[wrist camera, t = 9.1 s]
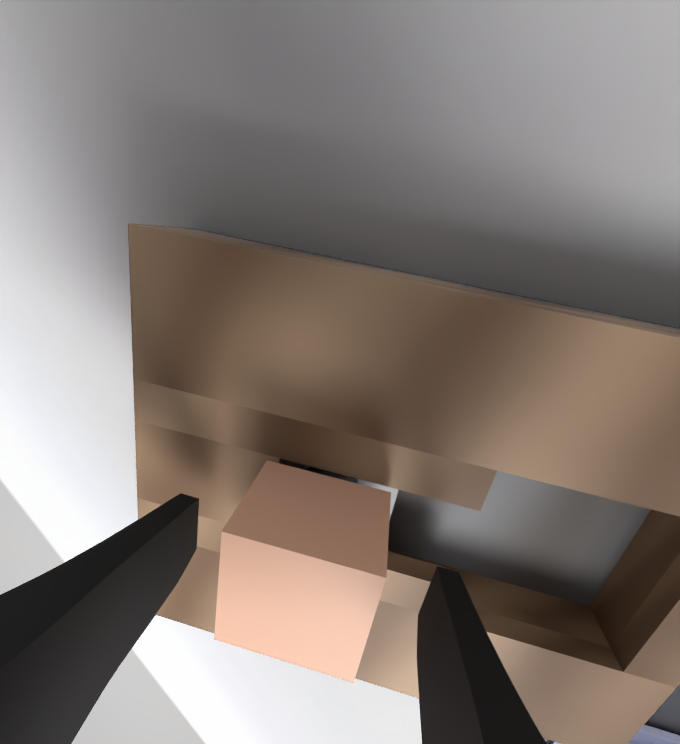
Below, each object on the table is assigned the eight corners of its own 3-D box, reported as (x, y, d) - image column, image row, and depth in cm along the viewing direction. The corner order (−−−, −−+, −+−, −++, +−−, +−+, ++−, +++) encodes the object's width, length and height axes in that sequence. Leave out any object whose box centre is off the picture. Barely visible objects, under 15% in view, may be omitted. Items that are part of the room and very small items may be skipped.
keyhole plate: (793, 352, 11) (940, 392, 8) (575, 668, 17) (612, 760, 14) (192, 228, 13) (128, 223, 10) (183, 551, 19) (141, 609, 16)
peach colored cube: (409, 436, 13) (413, 568, 8) (380, 536, 15) (367, 699, 10) (281, 405, 14) (202, 509, 8) (268, 505, 15) (197, 645, 10)
